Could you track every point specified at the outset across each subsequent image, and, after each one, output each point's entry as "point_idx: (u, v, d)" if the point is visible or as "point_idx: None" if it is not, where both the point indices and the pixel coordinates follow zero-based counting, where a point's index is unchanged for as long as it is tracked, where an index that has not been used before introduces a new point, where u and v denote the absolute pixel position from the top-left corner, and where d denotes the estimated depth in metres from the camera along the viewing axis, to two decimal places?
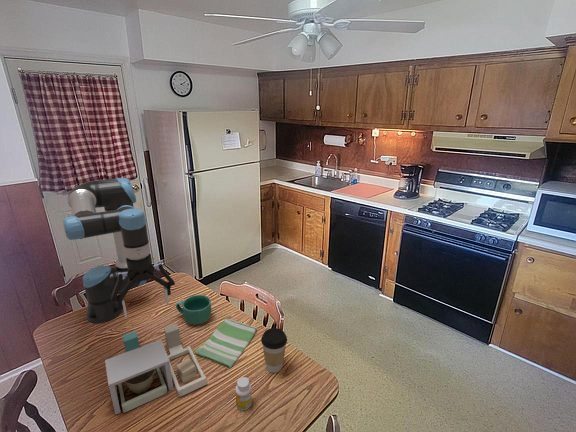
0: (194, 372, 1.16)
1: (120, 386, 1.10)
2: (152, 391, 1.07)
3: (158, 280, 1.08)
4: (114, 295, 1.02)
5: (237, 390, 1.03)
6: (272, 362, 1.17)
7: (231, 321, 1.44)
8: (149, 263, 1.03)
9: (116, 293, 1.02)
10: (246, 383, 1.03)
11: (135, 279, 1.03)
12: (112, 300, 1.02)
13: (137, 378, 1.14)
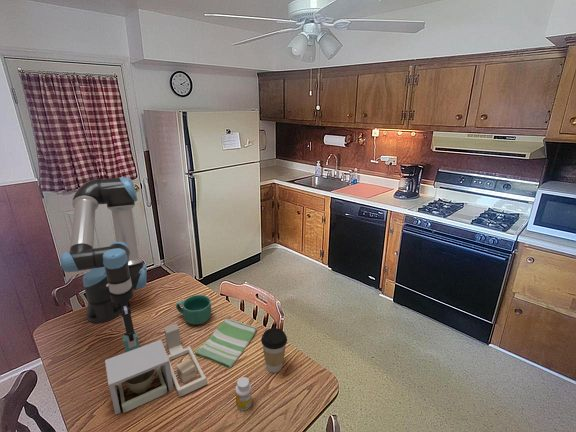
0: (194, 372, 1.16)
1: (120, 386, 1.10)
2: (152, 391, 1.07)
3: (123, 320, 1.15)
4: None
5: (237, 390, 1.03)
6: (272, 362, 1.17)
7: (231, 321, 1.44)
8: (115, 301, 1.13)
9: None
10: (246, 383, 1.03)
11: None
12: None
13: (137, 378, 1.14)
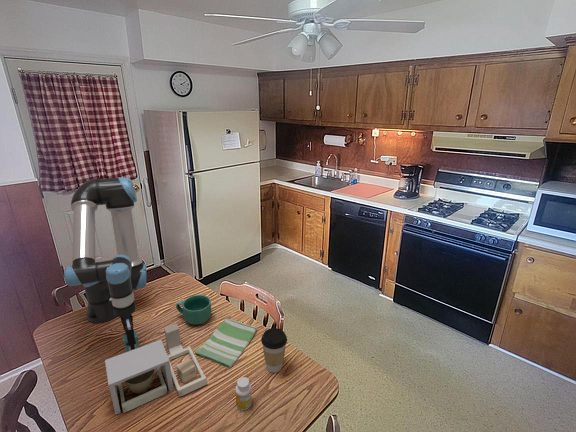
0: (194, 372, 1.16)
1: (120, 386, 1.10)
2: (152, 391, 1.07)
3: None
4: None
5: (237, 390, 1.03)
6: (272, 362, 1.17)
7: (231, 321, 1.44)
8: (118, 315, 1.16)
9: None
10: (246, 383, 1.03)
11: (121, 319, 1.21)
12: (124, 329, 1.27)
13: (137, 378, 1.14)
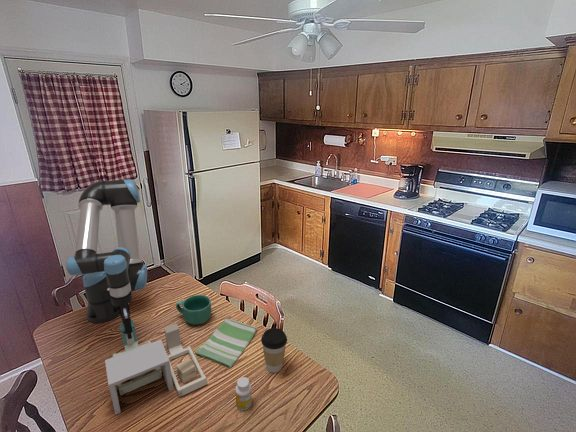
0: (194, 372, 1.16)
1: None
2: (147, 375, 1.13)
3: (123, 321, 1.26)
4: None
5: (237, 390, 1.03)
6: (272, 362, 1.17)
7: (231, 321, 1.44)
8: (115, 304, 1.22)
9: None
10: (246, 383, 1.03)
11: None
12: None
13: None
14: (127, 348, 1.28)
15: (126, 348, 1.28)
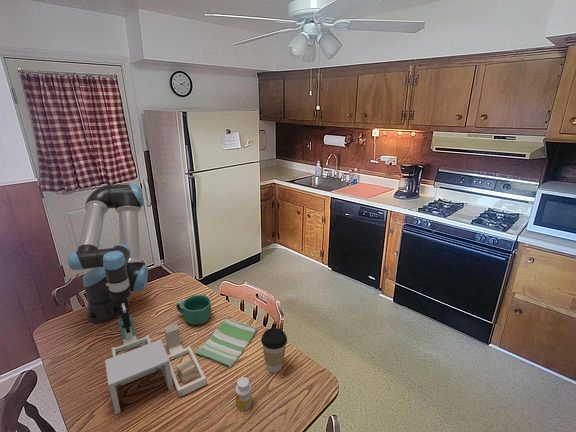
0: (194, 372, 1.16)
1: None
2: None
3: (121, 315, 1.29)
4: None
5: (237, 390, 1.03)
6: (272, 362, 1.17)
7: (231, 321, 1.44)
8: (114, 299, 1.25)
9: None
10: (246, 383, 1.03)
11: None
12: (120, 313, 1.36)
13: None
14: (126, 342, 1.31)
15: (125, 342, 1.31)
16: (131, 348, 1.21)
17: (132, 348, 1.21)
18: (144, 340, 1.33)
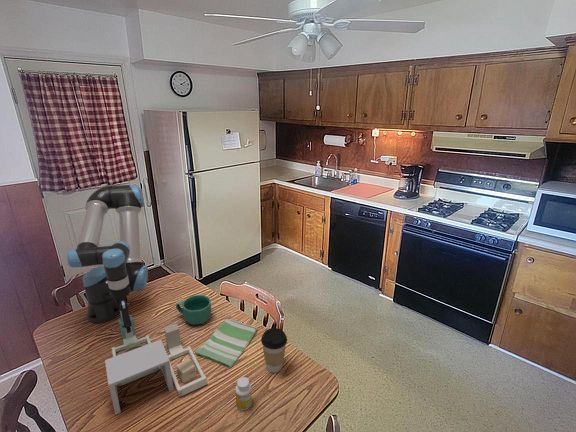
0: (194, 372, 1.16)
1: None
2: None
3: None
4: None
5: (237, 390, 1.03)
6: (272, 362, 1.17)
7: (231, 321, 1.44)
8: (114, 296, 1.25)
9: None
10: (246, 383, 1.03)
11: None
12: None
13: None
14: (125, 342, 1.31)
15: (125, 342, 1.31)
16: (131, 348, 1.21)
17: (132, 348, 1.21)
18: (144, 340, 1.33)
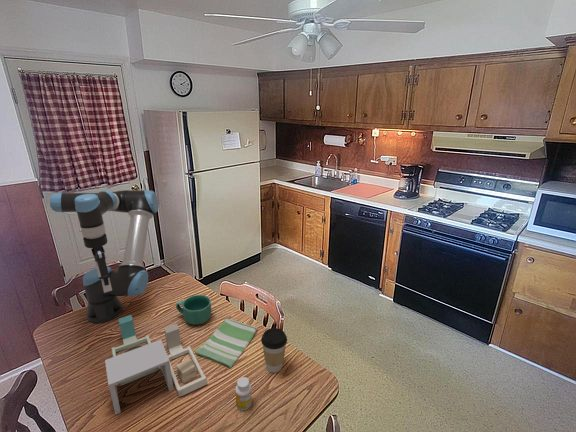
0: (194, 372, 1.16)
1: None
2: None
3: (98, 265, 1.17)
4: None
5: (237, 390, 1.03)
6: (272, 362, 1.17)
7: (231, 321, 1.44)
8: (89, 246, 1.15)
9: None
10: (246, 383, 1.03)
11: None
12: None
13: None
14: (125, 342, 1.31)
15: (125, 342, 1.31)
16: (131, 348, 1.21)
17: (132, 348, 1.21)
18: (144, 340, 1.33)
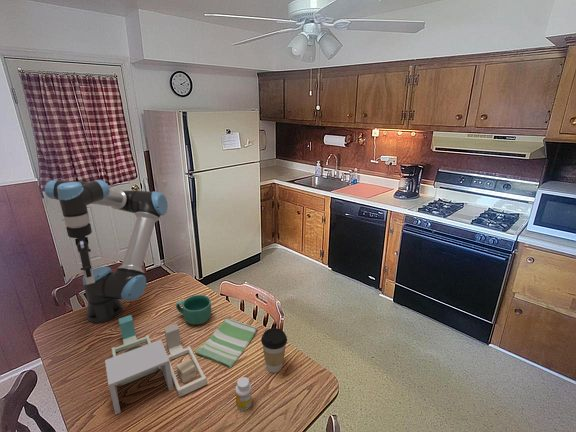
0: (194, 372, 1.16)
1: None
2: None
3: None
4: None
5: (237, 390, 1.03)
6: (272, 362, 1.17)
7: (231, 321, 1.44)
8: (71, 235, 1.12)
9: None
10: (246, 383, 1.03)
11: None
12: None
13: None
14: (125, 342, 1.31)
15: (125, 342, 1.31)
16: (131, 348, 1.21)
17: (132, 348, 1.21)
18: (144, 340, 1.33)
